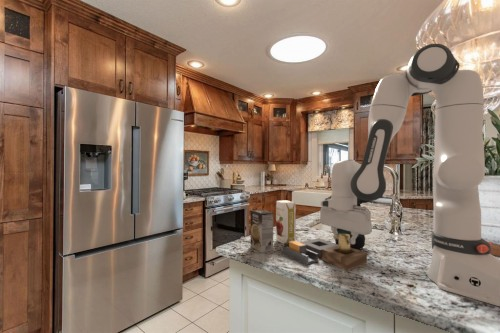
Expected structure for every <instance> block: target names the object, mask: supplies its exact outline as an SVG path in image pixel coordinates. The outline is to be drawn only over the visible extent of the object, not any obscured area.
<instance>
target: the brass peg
mask: <svg viewBox="0 0 500 333" xmlns="http://www.w3.org/2000/svg"><path fill="white" fill-rule="evenodd" d="M349 238H350V235H349V234H345V233H340V234H338V240H339V253H342V254H344V255H347V254H350V243H349Z"/></svg>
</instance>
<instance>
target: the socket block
mask: <svg viewBox="0 0 500 333" xmlns="http://www.w3.org/2000/svg"><path fill="white" fill-rule="evenodd" d="M299 242H300V243H302V244H305V245H306V249H308V250H310V251H313V252H315V253H318V259H319V258H320V259H322V249H325V248H329V247H333V246H337V245H338V244H335V243H334V242H331V241H328V240H325V239H322V238H319V237H318V238H314V239H310V240H304V241H299Z"/></svg>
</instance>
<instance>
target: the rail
mask: <svg viewBox="0 0 500 333" xmlns="http://www.w3.org/2000/svg"><path fill="white" fill-rule="evenodd" d="M281 248H282V250H281V253H282V254H283V255H284V256H287V257H289V258H291V259H293V260H296V261H297V262H299V263H301V264H303V265H305V266H307V265H311V264H312V265H313V264H314V263H319V257H318V253H315V252H313V251H310V250H308V249H306V255H305V254H303V253H300V252H298V251H296V250H293V249H291V248H289V242H286V243H284V244H282V246H281Z"/></svg>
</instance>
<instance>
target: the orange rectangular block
mask: <svg viewBox="0 0 500 333" xmlns="http://www.w3.org/2000/svg"><path fill="white" fill-rule="evenodd" d="M300 242H301V241H297V240H296V241H290V242H289V248H291V249H293V250H296V251H298V252H300V253H303V254H305V255H306V245H305V244H302V243H300Z"/></svg>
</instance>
